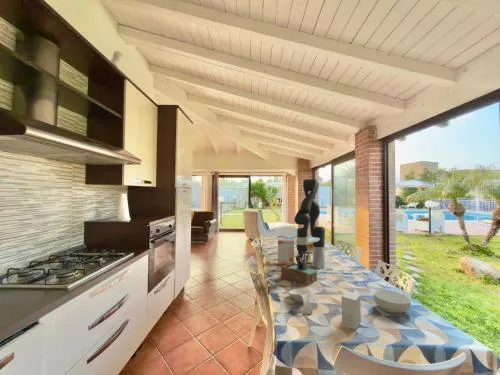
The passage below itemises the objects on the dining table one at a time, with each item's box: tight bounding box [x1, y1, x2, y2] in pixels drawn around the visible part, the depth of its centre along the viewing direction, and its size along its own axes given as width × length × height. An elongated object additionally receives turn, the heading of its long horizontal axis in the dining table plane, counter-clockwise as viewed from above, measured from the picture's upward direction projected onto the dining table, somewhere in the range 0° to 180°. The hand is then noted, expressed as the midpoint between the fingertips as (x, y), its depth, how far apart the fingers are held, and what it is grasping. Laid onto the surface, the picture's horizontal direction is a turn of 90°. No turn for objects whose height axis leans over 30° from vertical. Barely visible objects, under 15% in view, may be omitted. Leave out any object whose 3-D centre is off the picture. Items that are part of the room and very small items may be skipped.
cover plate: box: [288, 261, 318, 276], centre depth 165 cm, size 10×18×6 cm, turn 44°
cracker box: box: [277, 238, 295, 266], centre depth 204 cm, size 14×6×21 cm, turn 84°
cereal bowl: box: [373, 289, 412, 314], centre depth 124 cm, size 17×17×7 cm
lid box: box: [280, 262, 318, 287], centre depth 166 cm, size 14×20×8 cm
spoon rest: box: [288, 289, 313, 315], centre depth 130 cm, size 24×12×7 cm, turn 3°
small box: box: [341, 290, 362, 330], centre depth 110 cm, size 8×6×13 cm
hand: (302, 268), depth 164 cm, fingers closed on cover plate, 3 cm apart
